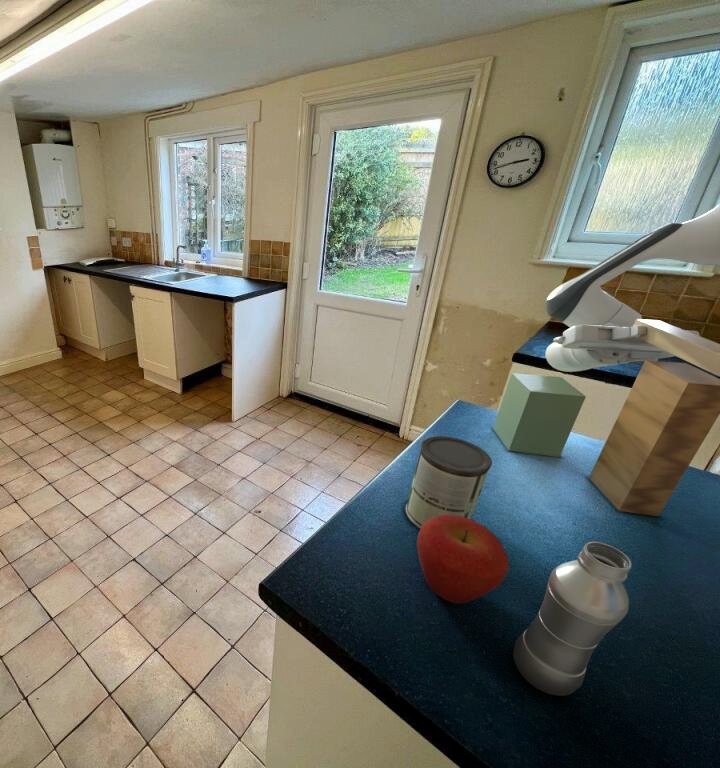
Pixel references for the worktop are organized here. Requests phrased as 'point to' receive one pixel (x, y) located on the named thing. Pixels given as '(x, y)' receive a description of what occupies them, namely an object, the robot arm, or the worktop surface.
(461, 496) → the coffee can
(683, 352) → the slim box
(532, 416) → the low box
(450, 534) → the apple
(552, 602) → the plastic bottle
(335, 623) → the worktop surface
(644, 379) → the tall stand
